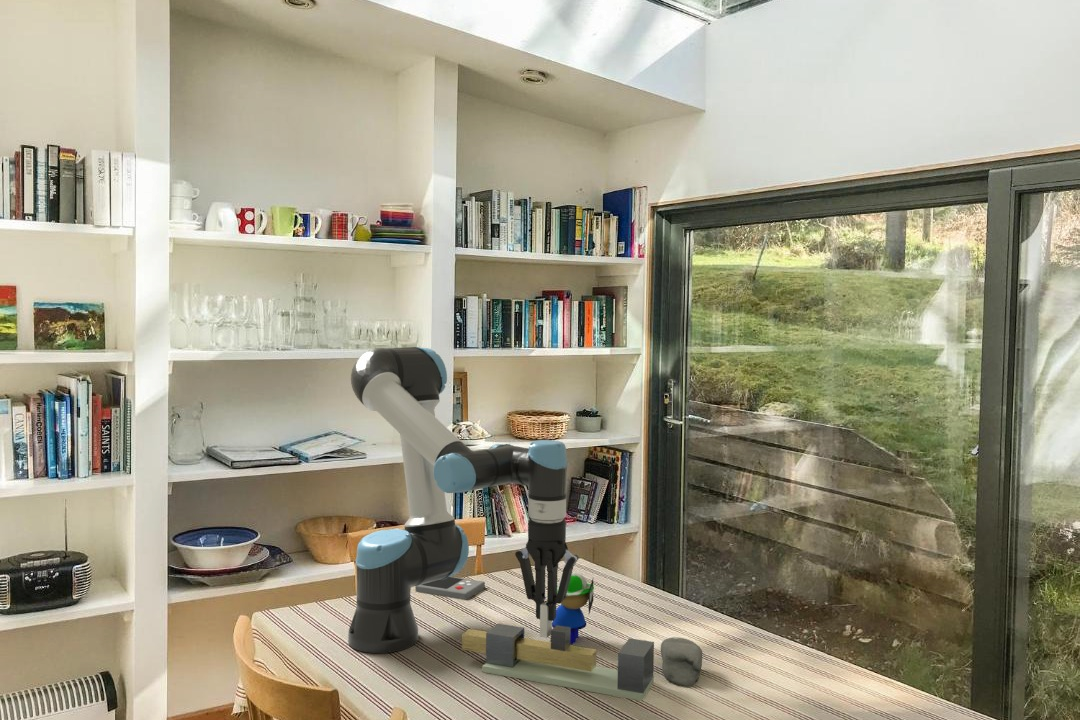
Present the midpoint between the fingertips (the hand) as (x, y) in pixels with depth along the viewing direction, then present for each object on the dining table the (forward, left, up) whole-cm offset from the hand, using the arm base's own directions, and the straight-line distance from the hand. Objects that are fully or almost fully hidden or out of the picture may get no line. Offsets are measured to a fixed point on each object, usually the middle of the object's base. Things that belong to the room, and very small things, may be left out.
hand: (545, 635), depth 171 cm
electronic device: (-41, +39, -9) cm, 57 cm away
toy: (-1, +19, -8) cm, 21 cm away
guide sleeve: (-9, 0, -7) cm, 11 cm away
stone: (+25, +10, -8) cm, 28 cm away
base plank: (+5, 0, -8) cm, 9 cm away
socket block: (+19, 0, -7) cm, 20 cm away
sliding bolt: (-4, 0, -5) cm, 6 cm away
